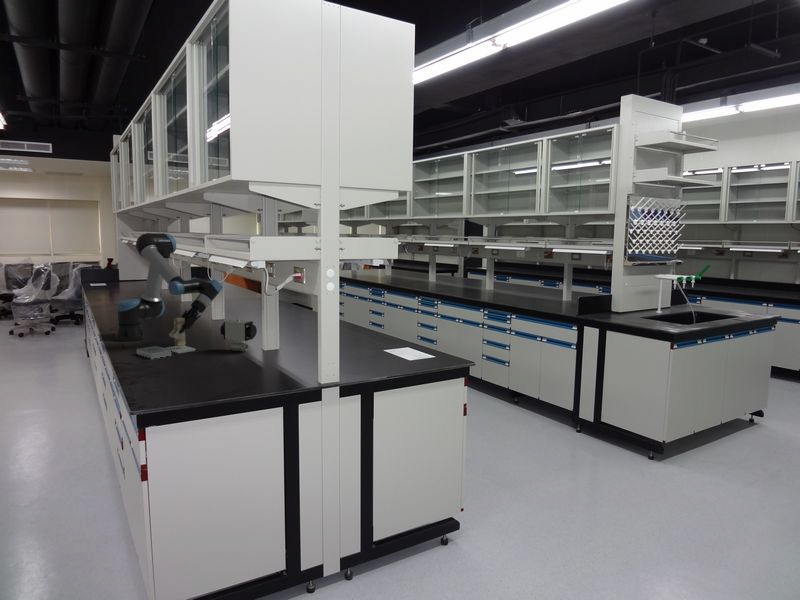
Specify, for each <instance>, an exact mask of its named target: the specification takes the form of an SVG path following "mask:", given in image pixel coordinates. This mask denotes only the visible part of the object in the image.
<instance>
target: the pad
mask: <svg viewBox="0 0 800 600" xmlns="http://www.w3.org/2000/svg"><path fill="white" fill-rule="evenodd" d="M164 348H165V349H169V350H171V351H172V352H171V353H174V352H175V354H177V353H178V354H184V353H189V352H195V350H196V348H195V347H190V346H187V345H186V346H180V347H177V346H175V345H174V346H168V347H167V346H166V347H164ZM196 351H197V350H196Z"/></svg>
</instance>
